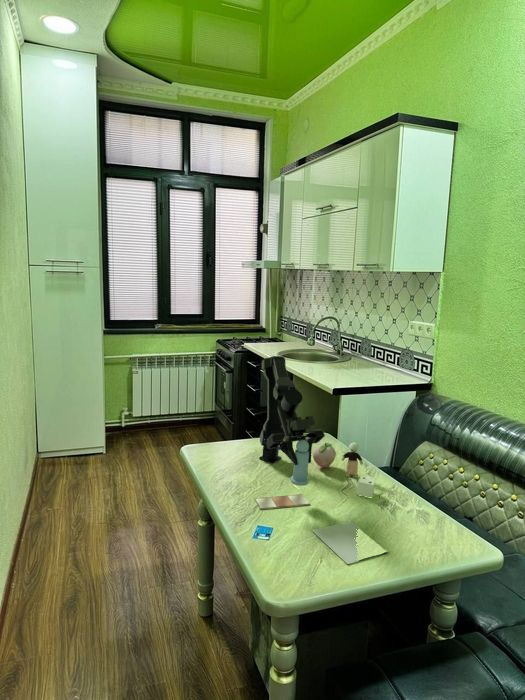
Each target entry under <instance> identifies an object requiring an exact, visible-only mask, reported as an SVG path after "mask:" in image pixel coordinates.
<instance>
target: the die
mask: <svg viewBox="0 0 525 700" xmlns="http://www.w3.org/2000/svg"><path fill="white" fill-rule="evenodd" d="M375 485H376V478H373V477H367V476H364V475H363V476H362V475H360V477H359V479H358V481H357V491H356V496H357V495H361V496H367V497H374V494H375ZM373 493H374V494H373Z"/></svg>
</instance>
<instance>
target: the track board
mask: <svg viewBox="0 0 525 700" xmlns="http://www.w3.org/2000/svg"><path fill="white" fill-rule="evenodd" d="M253 499H254V501H255V503H256V505H257V506H258V507H259V510H260V511H264V510H265V511H266V510H274V509H275V510H276V509H285V508H296V507H298V508H299V507H305V506H311V503H310V502H309V501H308V499H307V498H306V497H305V495H304V494H303V493H301V494H288V495H278V496H269V497H255V498H253Z"/></svg>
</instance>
